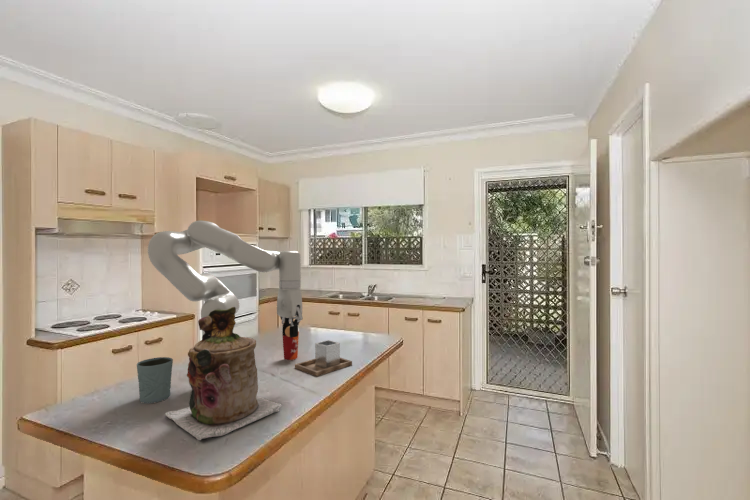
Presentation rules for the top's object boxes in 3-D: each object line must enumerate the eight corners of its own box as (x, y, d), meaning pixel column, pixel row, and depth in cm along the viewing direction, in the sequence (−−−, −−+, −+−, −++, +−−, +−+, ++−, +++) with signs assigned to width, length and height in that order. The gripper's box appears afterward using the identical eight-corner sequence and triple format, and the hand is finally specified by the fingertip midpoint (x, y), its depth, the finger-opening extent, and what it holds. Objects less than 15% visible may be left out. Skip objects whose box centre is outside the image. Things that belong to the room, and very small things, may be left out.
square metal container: (326, 369, 145) (326, 346, 145) (315, 365, 149) (315, 343, 149) (339, 365, 150) (339, 342, 150) (328, 361, 154) (328, 340, 154)
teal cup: (132, 406, 114) (131, 367, 114) (143, 393, 124) (142, 358, 124) (168, 402, 117) (168, 364, 117) (176, 390, 127) (176, 355, 127)
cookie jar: (240, 391, 126) (239, 297, 125) (284, 411, 110) (283, 304, 110) (161, 417, 107) (160, 307, 106) (202, 446, 91) (201, 317, 91)
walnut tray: (316, 379, 137) (316, 372, 137) (294, 370, 146) (294, 364, 146) (352, 367, 150) (352, 361, 150) (329, 360, 159) (329, 354, 159)
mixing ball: (288, 338, 130) (288, 327, 130) (282, 336, 133) (282, 326, 133) (297, 336, 133) (297, 326, 133) (291, 334, 136) (291, 324, 136)
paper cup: (297, 362, 156) (297, 329, 156) (279, 362, 156) (279, 329, 156) (301, 357, 164) (301, 325, 164) (284, 357, 164) (284, 325, 164)
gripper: (268, 284, 136) (268, 334, 136) (294, 287, 124) (294, 341, 125) (285, 282, 141) (286, 330, 141) (312, 285, 130) (312, 337, 130)
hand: (290, 335), depth 133 cm, fingers closed on mixing ball, 3 cm apart
